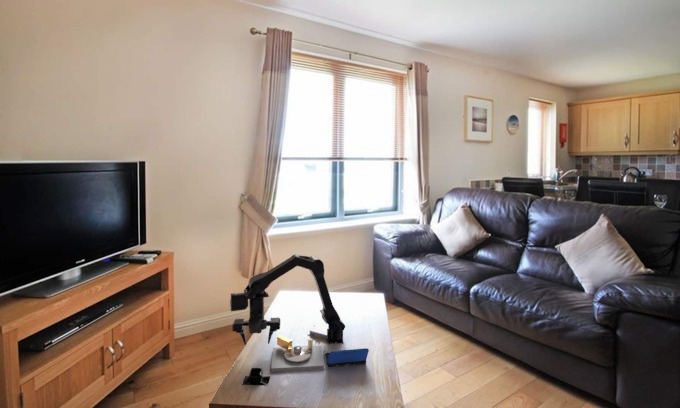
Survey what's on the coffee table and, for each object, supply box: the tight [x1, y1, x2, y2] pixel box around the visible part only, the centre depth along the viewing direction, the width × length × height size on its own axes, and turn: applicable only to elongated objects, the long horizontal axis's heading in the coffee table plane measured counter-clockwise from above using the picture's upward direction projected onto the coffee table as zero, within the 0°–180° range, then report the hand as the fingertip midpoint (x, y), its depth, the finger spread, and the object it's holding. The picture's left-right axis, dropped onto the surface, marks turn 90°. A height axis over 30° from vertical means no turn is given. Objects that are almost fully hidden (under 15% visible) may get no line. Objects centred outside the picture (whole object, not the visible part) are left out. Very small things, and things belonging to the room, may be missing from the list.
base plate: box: [270, 338, 325, 373], centre depth 146 cm, size 20×15×6 cm
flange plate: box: [276, 334, 311, 363], centre depth 147 cm, size 14×14×5 cm
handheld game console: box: [324, 348, 370, 369], centre depth 145 cm, size 16×13×9 cm
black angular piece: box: [241, 367, 271, 387], centre depth 132 cm, size 12×7×5 cm, turn 90°
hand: (257, 343), depth 150 cm, fingers open, 9 cm apart
